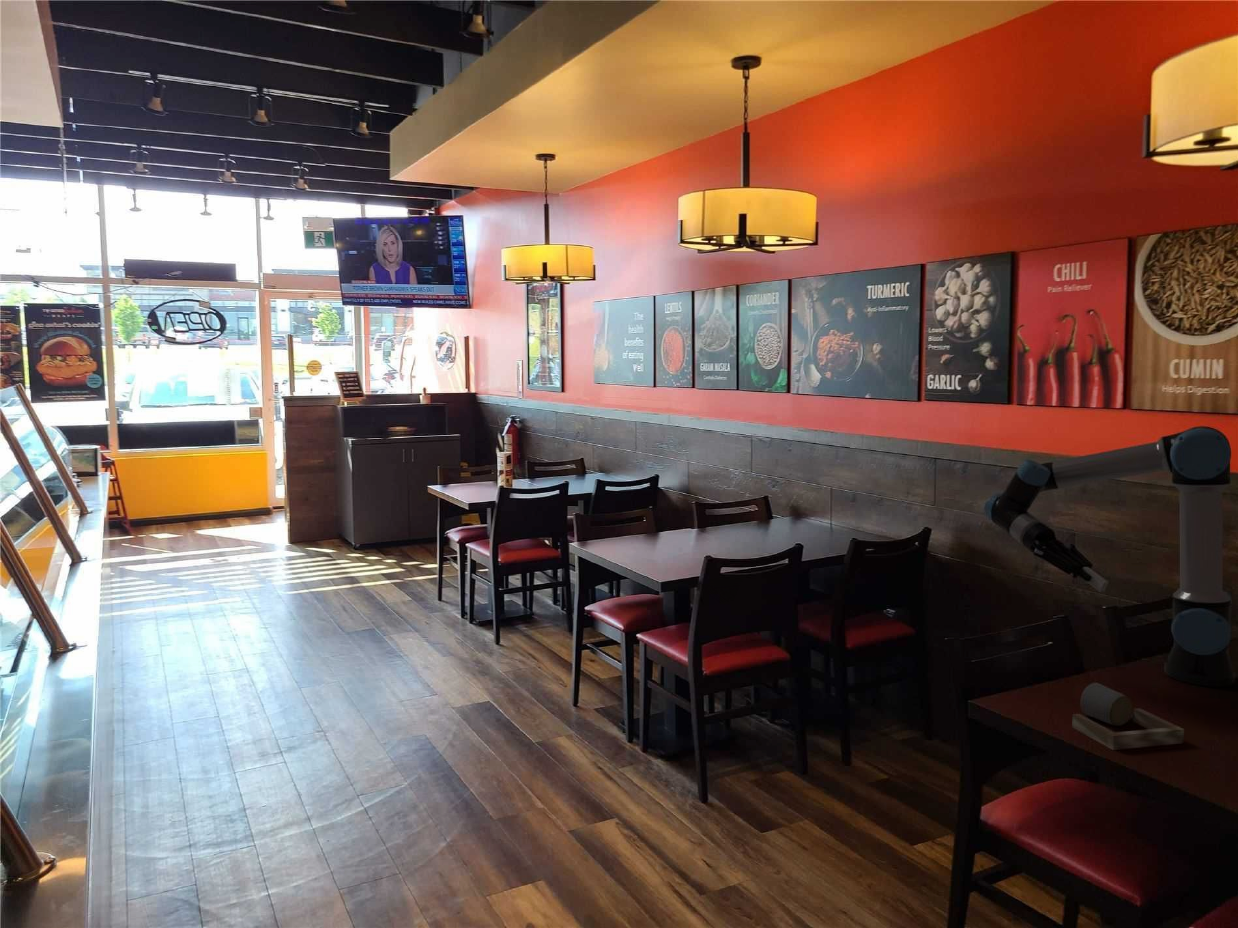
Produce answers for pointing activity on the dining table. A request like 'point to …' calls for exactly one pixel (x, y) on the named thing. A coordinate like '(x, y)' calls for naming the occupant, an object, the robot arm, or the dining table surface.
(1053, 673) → the dining table surface
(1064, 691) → the dining table surface
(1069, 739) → the dining table surface
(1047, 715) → the dining table surface
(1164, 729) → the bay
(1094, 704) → the ceramic mug
